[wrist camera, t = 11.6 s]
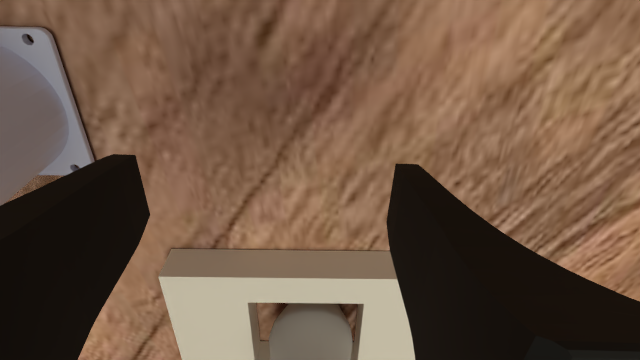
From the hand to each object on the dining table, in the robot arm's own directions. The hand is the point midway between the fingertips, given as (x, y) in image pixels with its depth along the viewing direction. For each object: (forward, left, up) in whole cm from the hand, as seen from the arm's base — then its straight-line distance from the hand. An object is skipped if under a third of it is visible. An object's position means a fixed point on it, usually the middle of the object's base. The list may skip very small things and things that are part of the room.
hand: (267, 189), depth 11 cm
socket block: (+1, -18, -10) cm, 21 cm away
